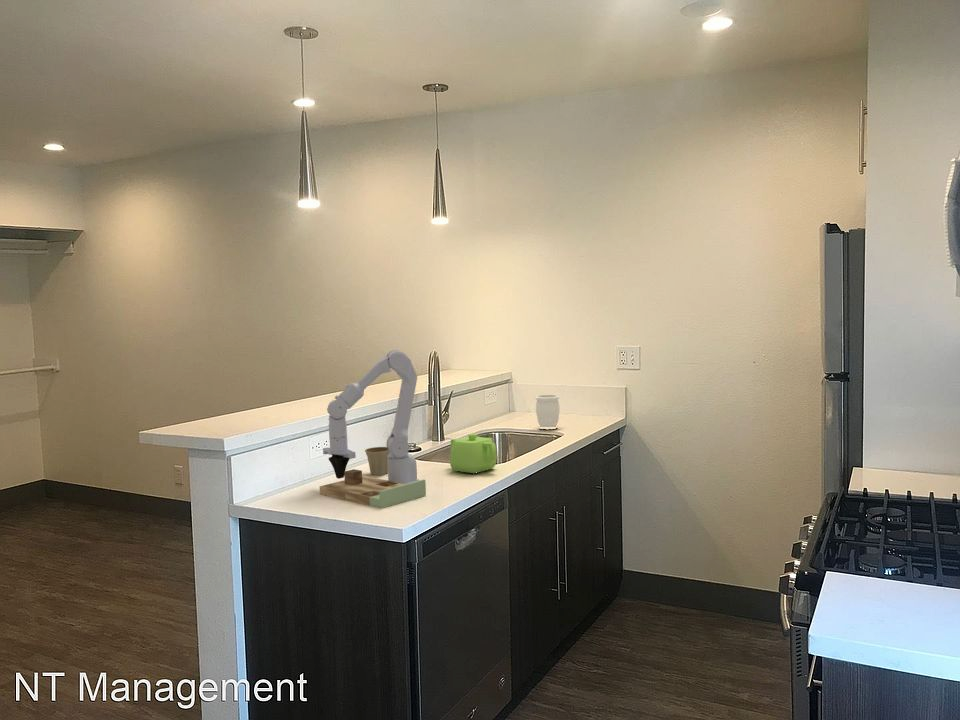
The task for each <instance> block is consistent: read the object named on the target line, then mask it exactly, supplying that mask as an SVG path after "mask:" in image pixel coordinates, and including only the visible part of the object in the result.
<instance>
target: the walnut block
mask: <svg viewBox="0 0 960 720" xmlns="http://www.w3.org/2000/svg"><path fill="white" fill-rule="evenodd" d="M362 476H363V470H359V469H354V468H353V469H348V470H345V471H344V480H345V484H349V485H356V484H360V483H362Z"/></svg>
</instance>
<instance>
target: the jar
mask: <svg viewBox="0 0 960 720" xmlns="http://www.w3.org/2000/svg"><path fill="white" fill-rule="evenodd" d="M559 399H560V396H559V395H555V394H544V395H542V394H541V395H537V396H535V400H536V405H535V413H536V418H537V422H538V425H539V427H556V426H558V422H559V418H560V403H559Z"/></svg>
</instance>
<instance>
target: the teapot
mask: <svg viewBox="0 0 960 720" xmlns="http://www.w3.org/2000/svg"><path fill="white" fill-rule="evenodd" d="M493 441H494V438H493V437H485V436H484V437H483V436H478V434H477V433H469V434H467V437H462V438H452V439H450V449H449V454H450V456H449V457H450V459H449V463H450V464H449V465H450V467H451V469H452V471H454V472H455V471H456V472H458V471H460V472H459V473H469V474H471V473H476V472H478V473H479V472H480V473H481V472H486V471H485V470H488V469H489V470H492V469H493V468H495V467H496V464H497V459H498V454H497V452H498V451H497V447H496V443H495V442H493ZM494 466H495V467H494ZM489 470H488V471H489Z"/></svg>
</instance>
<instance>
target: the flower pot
mask: <svg viewBox="0 0 960 720" xmlns="http://www.w3.org/2000/svg"><path fill="white" fill-rule="evenodd" d="M389 452H390V451H389V450H388V448H387V446H374V447H369V448H365V449H364V453H365V454H366V457H367V461H368V466H369V472H370V473H369V474H370V475H371V476H381V475H382V476H383V474H384V475H386V474H388V463H387V455H388V454H389Z"/></svg>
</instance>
